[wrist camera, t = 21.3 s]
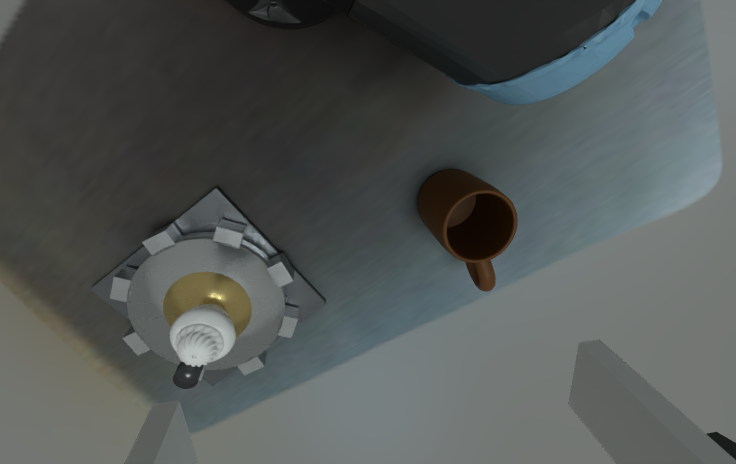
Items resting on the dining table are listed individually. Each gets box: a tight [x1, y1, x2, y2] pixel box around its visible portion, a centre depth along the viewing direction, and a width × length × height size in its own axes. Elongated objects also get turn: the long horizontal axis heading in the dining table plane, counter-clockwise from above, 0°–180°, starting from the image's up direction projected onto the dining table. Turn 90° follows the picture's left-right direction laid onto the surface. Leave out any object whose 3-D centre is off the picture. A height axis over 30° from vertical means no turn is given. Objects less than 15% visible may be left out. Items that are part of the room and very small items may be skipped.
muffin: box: [170, 303, 236, 367], centre depth 39 cm, size 6×6×7 cm
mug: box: [418, 169, 517, 291], centre depth 41 cm, size 12×8×9 cm, turn 16°
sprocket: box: [110, 219, 299, 389], centre depth 41 cm, size 19×19×6 cm
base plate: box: [90, 186, 326, 386], centre depth 44 cm, size 18×18×1 cm
